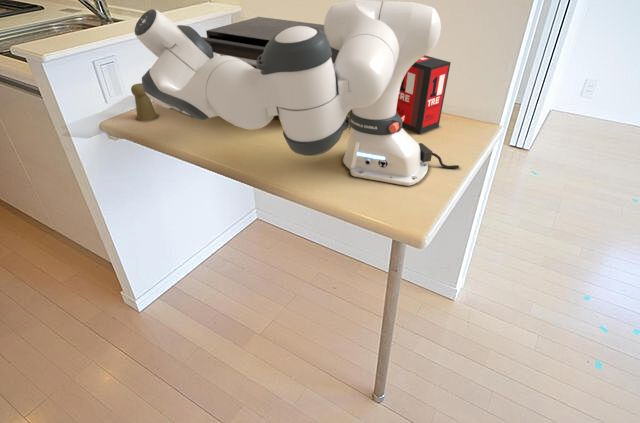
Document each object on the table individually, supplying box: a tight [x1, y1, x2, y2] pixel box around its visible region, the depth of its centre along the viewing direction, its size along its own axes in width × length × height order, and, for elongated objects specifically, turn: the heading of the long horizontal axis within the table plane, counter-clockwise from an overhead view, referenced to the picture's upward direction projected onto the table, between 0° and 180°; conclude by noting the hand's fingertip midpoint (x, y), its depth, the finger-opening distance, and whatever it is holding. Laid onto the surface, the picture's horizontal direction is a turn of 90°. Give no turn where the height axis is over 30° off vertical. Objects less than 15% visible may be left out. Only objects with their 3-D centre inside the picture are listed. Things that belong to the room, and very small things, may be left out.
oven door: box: [201, 36, 280, 121], centre depth 126 cm, size 6×40×24 cm, turn 59°
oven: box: [205, 16, 339, 63], centre depth 140 cm, size 28×40×24 cm
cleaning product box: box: [396, 54, 452, 135], centre depth 125 cm, size 16×9×20 cm, turn 39°
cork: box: [130, 82, 158, 122], centre depth 130 cm, size 6×6×11 cm
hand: (221, 87), depth 116 cm, fingers closed
